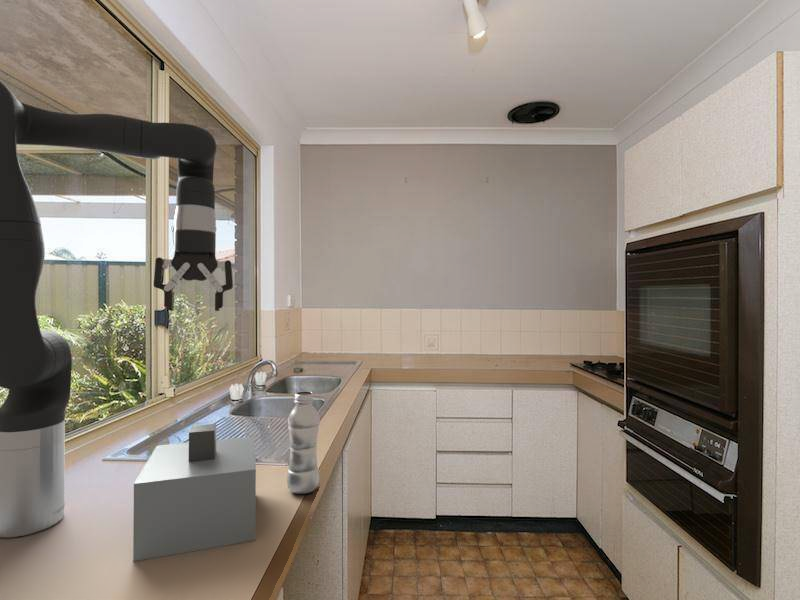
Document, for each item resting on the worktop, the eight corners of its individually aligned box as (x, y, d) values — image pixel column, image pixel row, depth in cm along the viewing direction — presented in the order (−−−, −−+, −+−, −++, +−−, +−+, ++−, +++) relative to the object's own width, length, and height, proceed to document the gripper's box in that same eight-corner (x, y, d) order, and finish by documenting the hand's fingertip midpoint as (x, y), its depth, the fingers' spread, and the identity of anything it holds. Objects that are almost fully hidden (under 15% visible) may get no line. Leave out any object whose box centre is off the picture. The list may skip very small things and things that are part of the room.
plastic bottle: (305, 480, 92) (306, 388, 92) (325, 490, 87) (326, 393, 87) (279, 491, 87) (280, 393, 87) (300, 501, 82) (301, 398, 82)
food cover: (133, 561, 63) (134, 450, 63) (156, 507, 80) (157, 418, 79) (255, 540, 69) (256, 438, 69) (253, 493, 85) (254, 411, 85)
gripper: (151, 225, 80) (150, 311, 80) (232, 230, 85) (231, 311, 85) (159, 231, 87) (158, 310, 87) (234, 235, 92) (233, 310, 92)
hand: (194, 310), depth 86 cm, fingers open, 8 cm apart
